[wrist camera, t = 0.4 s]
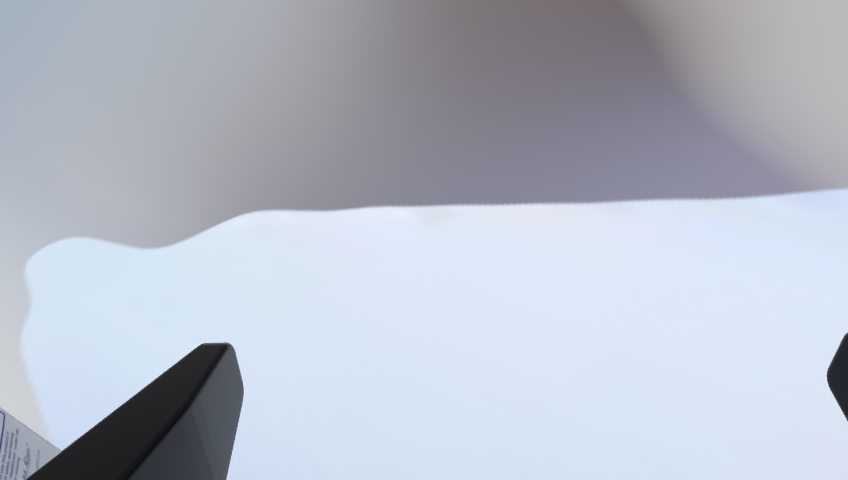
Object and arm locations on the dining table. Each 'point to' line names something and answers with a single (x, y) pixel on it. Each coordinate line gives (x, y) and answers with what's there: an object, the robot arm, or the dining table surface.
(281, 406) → the dining table surface
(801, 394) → the dining table surface
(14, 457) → the medicine box
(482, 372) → the dining table surface
